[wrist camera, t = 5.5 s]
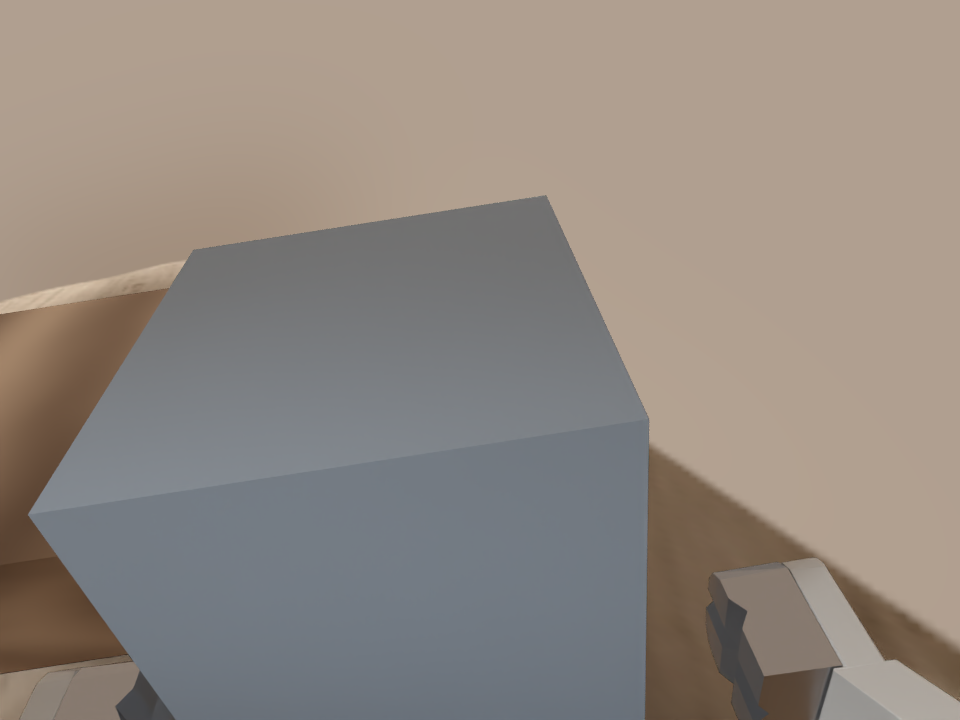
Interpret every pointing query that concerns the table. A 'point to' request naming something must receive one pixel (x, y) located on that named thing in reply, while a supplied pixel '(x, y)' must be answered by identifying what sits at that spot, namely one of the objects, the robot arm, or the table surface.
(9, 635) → the block
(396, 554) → the slate block
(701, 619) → the table surface
